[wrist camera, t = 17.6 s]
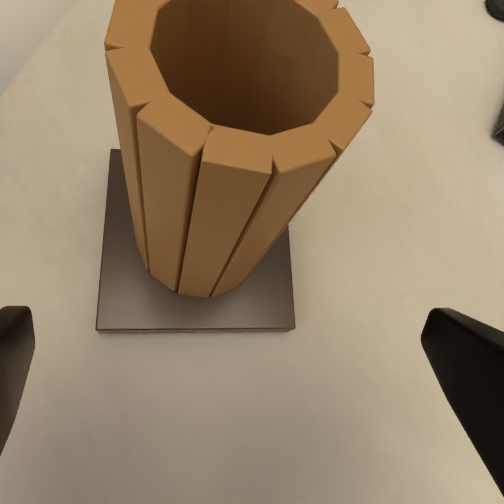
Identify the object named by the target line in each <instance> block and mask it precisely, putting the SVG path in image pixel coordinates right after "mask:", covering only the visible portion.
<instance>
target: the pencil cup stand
mask: <svg viewBox="0 0 504 504" xmlns="http://www.w3.org/2000/svg"><path fill="white" fill-rule="evenodd" d="M178 289H179V287H178V288H177V290H176V291H175V292H173V291H171V290H170V289H169V288H167V287H166V286H165V285H163V284H162V283H161V282H159V281H158V280H157V279H155V278H154V277H153V276H151V275H150V270H149V271H147V270H146V267H145V265H144V262H143V260H142V257H141V255H140V252H139V250H138V247H137V245H136V238H135V232H134V226H133V220H132V214H131V208H130V202H129V196H128V190H127V184H126V178H125V172H124V166H123V160H122V154H121V149H111V151H110V163H109V175H108V187H107V199H106V211H105V223H104V235H103V247H102V258H101V270H100V282H99V294H98V306H97V318H96V331H98V332H99V333H196V332H288V331H291V330H293V329H295V316H294V301H293V287H292V273H291V258H290V244H289V230H288V225H287V226H286V228H285V229H284V230H283V231H282V233H281V234H280V235H279V237H278V238H277V239H276V241H275V242H274V243H273V245H272V246H271V247H270V248H269V250H268V251H267V252H266V254H265V255H264V256H263V258H262V259H261V260H260V262H259V263H258V264H257V265H256V267H255V268H254V269H253V271H252V272H251V273H250V275H249V276H248V277H247V278H246V280H245V281H244V282H243V284H240V285H239V286H238V287H237V288H234V289H232V290H229V291H227V292H224V293H222V294H220V295H217V296H215V297H212V296H211V294H210V295H209V297H208V298H203V297H195V296H187V295H180V294H178Z"/></svg>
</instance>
